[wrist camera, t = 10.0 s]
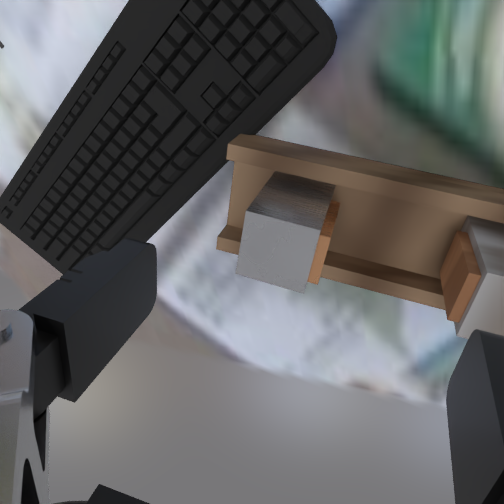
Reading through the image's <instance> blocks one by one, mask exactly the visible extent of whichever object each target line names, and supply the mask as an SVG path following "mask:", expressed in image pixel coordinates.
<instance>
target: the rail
mask: <svg viewBox="0 0 504 504" xmlns="http://www.w3.org/2000/svg"><path fill="white" fill-rule="evenodd" d="M226 159H227V160H231V161H235V163H234V171H233V179H232V187H231V195H230V204H229V212H228V220H227V225H226V226H225V228H224V229H223V230H222V232H221V233H220V234H219V235H218V238H217V247H216V249H218V250H222V251H225V252H229V253H233V254H237V255H239V249H240V243H241V237H242V231H243V225H244V219H245V213H246V210H247V209H248V207H249V206H250V204H251V203H252V202H253V200H254V199H255V198H256V196H257V195H258V194H259V192H260V191H261V189H262V188H263V187H264V185H265V184H266V183H267V181H268V180H269V179H270V177H271V176H272V174H273V173H274V172H275V171H279V172H283V173H287V174H292V175H296V176H300V177H305V178H309V179H313V180H318V181H322V182H326V183H331V184H335V185H336V186H335V190H334V194H333V197H332V201H336V202H340V203H341V204H340V207H339V211H338V214H337V218H336V222H335V225H334V229H333V232H332V236H331V239H330V243H329V247H328V250H327V254H326V257H325V261H324V264H323V268H322V271H321V275H320V277H323V278H327V279H330V280H334V281H338V282H342V283H345V284H349V285H353V286H357V287H360V288H364V289H368V290H372V291H375V292H379V293H383V294H387V295H390V296H394V297H398V298H402V299H405V300H409V301H413V302H417V303H420V304H424V305H428V306H432V307H435V308H439V309H443V310H446V314H447V320H450V321H454V324H455V329H456V335H457V336H459V337H463V338H466V339H469V337H470V335H471V333H472V332H473V331H474V330H475V329H479V330H482V331H486V332H490V333H494V334H498V335H502V336H504V189H501V188H496V187H492V186H487V185H482V184H478V183H473V182H469V181H464V180H459V179H455V178H450V177H446V176H441V175H436V174H432V173H427V172H423V171H418V170H414V169H409V168H404V167H400V166H395V165H391V164H386V163H381V162H377V161H372V160H368V159H363V158H359V157H354V156H349V155H345V154H340V153H336V152H331V151H326V150H322V149H317V148H313V147H308V146H304V145H299V144H294V143H290V142H285V141H281V140H276V139H271V138H267V137H262V136H258V135H246V134H239V135H238V136H237V137H236V138H234V139H233V140H232V141H231V142H230V143H228V148H227V157H226Z"/></svg>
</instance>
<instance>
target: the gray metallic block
mask: <svg viewBox="0 0 504 504" xmlns="http://www.w3.org/2000/svg"><path fill="white" fill-rule="evenodd" d="M335 186H336V185H335V184H331V183H326V182H322V181H318V180H313V179H309V178H305V177H300V176H296V175H292V174H287V173H283V172H279V171H275V172H274V173H273V174H272V176H271V177H270V179H269V180H268V181H267V183H266V184H265V185H264V187H263V188H262V189H261V191H260V192H259V194H258V195H257V196H256V198H255V199H254V200H253V202H252V203H251V204H250V206H249V207H248V209H247V210H246V213H245V219H244V225H243V231H242V237H241V243H240V249H239V256H238V262H237V268H236V274H238V275H242V276H245V277H249V278H252V279H256V280H259V281H262V282H266V283H269V284H273V285H276V286H280V287H283V288H286V289H290V290H293V291H297V292H300V293H304V291H305V288H306V285H307V282H311V283H314V284H317V285H318V282H319V278H320V275H321V271H322V268H323V264H324V261H325V257H326V254H327V250H328V247H329V243H330V239H331V236H332V232H333V229H334V225H335V222H336V218H337V214H338V211H339V207H340V204H341V203H340V202H336V201H332V197H333V194H334V190H335Z"/></svg>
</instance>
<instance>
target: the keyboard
mask: <svg viewBox="0 0 504 504" xmlns="http://www.w3.org/2000/svg"><path fill="white" fill-rule="evenodd" d="M336 40H337V35H336V31H335V28H334V25H333V22H332V20H331V19H330V18H329V16H328V15H327V14H326V13H325V12H324V10H323V9H322V8H321V7H320V6H319V4H318V3H317V2H316V1H315V0H129V1H128V3H127V4H126V6H125V7H124V9H123V10H122V12H121V13H120V15H119V16H118V18H117V19H116V21H115V22H114V24H113V25H112V27H111V29H110V30H109V32H108V33H107V35H106V36H105V38H104V39H103V41H102V42H101V44H100V45H99V47H98V48H97V50H96V51H95V53H94V55H93V56H92V58H91V59H90V61H89V62H88V64H87V65H86V67H85V68H84V70H83V71H82V73H81V74H80V76H79V77H78V79H77V81H76V82H75V84H74V85H73V87H72V88H71V90H70V91H69V93H68V94H67V96H66V97H65V99H64V100H63V102H62V103H61V105H60V107H59V108H58V110H57V111H56V113H55V114H54V116H53V117H52V119H51V120H50V122H49V123H48V125H47V126H46V128H45V129H44V131H43V133H42V134H41V136H40V137H39V139H38V140H37V142H36V143H35V145H34V146H33V148H32V149H31V151H30V152H29V154H28V155H27V157H26V159H25V160H24V162H23V163H22V165H21V166H20V168H19V169H18V171H17V172H16V174H15V175H14V177H13V178H12V180H11V181H10V183H9V185H8V186H7V188H6V189H5V191H4V192H3V194H2V195H1V197H0V223H1V224H2V225H4V226H5V227H6V228H7V229H8V230H10V231H11V232H12V233H13V234H15V235H16V236H17V237H18V238H19V239H21V240H22V241H23V242H24V243H26V244H27V245H28V246H29V247H30V248H32V249H33V250H34V251H35V252H36V253H38V254H39V255H40V256H41V257H43V258H44V259H45V260H46V261H47V262H49V263H50V264H51V265H52V266H53V267H55V268H56V269H57V270H58V271H60V272H61V273H62V274H63V275H64V274H65V273H66V272H68V271H71V269H72V268H73V267H74V266H75V265H77V264H78V263H79V262H81V261H82V260H83V259H84V258H86V257H89V256H91V255H94V254H96V253H99V252H101V251H107V252H108V251H110V250H111V249H112V248H113V247H114V246H116V245H117V244H118V243H119V242H121V241H122V240H123V239H125V238H130V239H134V240H138V241H142V242H147V241H148V240H149V239H150V238H151V237H152V236H153V235H154V234H155V233H156V232H157V231H158V230H159V229H160V228H161V227H162V226H163V225H164V224H165V223H166V222H167V221H168V220H169V219H170V218H171V217H172V216H173V215H174V214H175V213H176V212H177V211H178V210H179V209H180V208H181V207H182V206H183V205H184V204H185V203H186V202H187V201H188V200H189V199H190V198H191V197H192V196H193V195H194V194H195V193H196V192H197V191H198V190H199V189H200V188H201V187H202V186H203V185H204V184H206V183H207V182H208V181H209V180H210V179H211V178H212V177H213V176H214V175H215V174H216V173H217V172H218V171H219V170H220V169H221V168H222V167H223V166H224V165H225V164H226V163H227V162H228V161H229V160H227V159H226V157H227V148H228V143H230V142H231V141H232V140H233V139H234V138H236V137H237V136H238V135H239V134H246V135H255V134H256V133H257V132H258V131H259V130H260V129H261V128H262V127H263V126H265V125H266V124H267V123H268V122H269V121H270V120H271V119H272V118H273V117H274V116H275V115H276V114H277V113H278V112H279V111H280V110H281V109H282V108H283V107H284V106H285V105H286V104H287V103H288V102H289V101H290V100H291V99H292V98H293V97H294V96H295V95H296V94H297V93H298V92H299V91H300V90H301V89H302V88H303V87H304V86H305V85H306V84H307V83H308V82H309V81H310V80H311V79H312V78H313V77H314V76H315V75H316V74H317V73H318V72H319V71H320V70H321V69H322V68H323V67H324V66H325V65H326V63H327V62H328V60H329V59H330V58H331V56H332V55H333V53H334V48H335V44H336Z"/></svg>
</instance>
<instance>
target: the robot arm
mask: <svg viewBox="0 0 504 504" xmlns="http://www.w3.org/2000/svg"><path fill="white" fill-rule="evenodd" d="M156 295H157V253H156V248H155V246H154V245H153V244H150V243H146V242H142V241H138V240H134V239H130V238H125V239H123V240H122V241H121V242H119V243H118V244H117V245H116V246H114V247H113V248H112V249H111V250H110V251H108V252H107V251H101V252H99V253H96V254H94V255H91V256H89V257H86V258H84V259H83V260H82V261H81V262H79V263H78V264H77V265H75V266H74V267H73V268H72V269H71V271H68V272H66V273H65V274H64V275H63V276H61V277H60V280H56V281H55V282H54V283H52V284H51V285H50V286H49V287H47V288H46V289H45V290H43V291H42V292H41V293H40V294H38V295H37V296H36V297H34V298H33V299H32V300H31V301H29V302H28V303H27V304H26V305H24V306H23V307H22V308H21V309H19V310H9V309H5V310H0V504H50V500H49V486H48V474H49V423H50V413H49V405H50V404H51V402H53V400H54V399H55V398H56V397H57V396H58V397H61V398H63V399H67V400H69V401H72V402H76V401H77V399H78V398H79V397H80V396H81V395H82V394H83V392H84V391H85V390H86V389H87V388H88V386H89V385H90V384H91V383H92V382H93V380H94V379H95V378H96V377H97V376H98V375H99V373H100V372H101V371H102V370H103V369H104V367H105V366H106V365H107V364H108V363H109V361H110V360H111V359H112V358H113V357H114V355H115V354H116V353H117V352H118V351H119V350H120V348H121V347H122V346H123V345H124V343H125V342H126V341H127V340H128V339H129V338H130V337H131V335H132V334H133V333H134V332H135V331H136V329H137V328H138V327H139V326H140V325H141V323H142V322H143V321H144V320H145V319H146V318H147V316H148V315H149V314H150V312H151V310H152V308H153V306H154V303H155V300H156ZM446 404H447V415H448V427H449V438H450V449H451V460H452V470H453V481H454V493H455V503H456V504H504V336H502V335H498V334H494V333H490V332H486V331H482V330H479V329H475V330H474V331H473V332H472V333H471V335H470V337H469V339H468V341H467V343H466V346H465V348H464V350H463V352H462V354H461V356H460V359H459V361H458V363H457V365H456V367H455V369H454V371H453V374H452V376H451V378H450V381H449V385H448V390H447V398H446ZM55 504H149V503H147V502H144V501H142V500H139V499H136V498H134V497H131V496H129V495H126V494H124V493H121V492H118V491H116V490H113V489H111V488H108V487H106V486H103V485H100V484H99V485H98V486H97V488H96V489H95V491H94V492H93V494H92V496H91V497H90V499H89V500H88V501H67V502H61V503H55Z"/></svg>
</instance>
